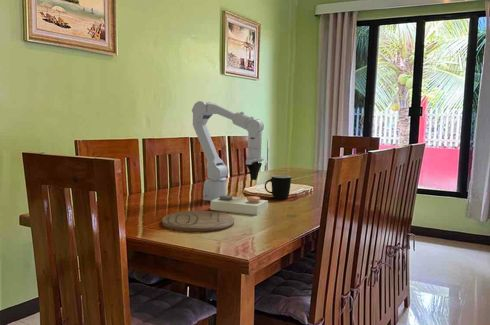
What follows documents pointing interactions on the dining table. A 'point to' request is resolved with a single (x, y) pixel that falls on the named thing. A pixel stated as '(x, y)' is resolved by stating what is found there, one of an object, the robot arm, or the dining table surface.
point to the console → (239, 206)
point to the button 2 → (253, 199)
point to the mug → (280, 186)
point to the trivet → (198, 221)
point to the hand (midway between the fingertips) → (253, 179)
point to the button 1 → (226, 197)
